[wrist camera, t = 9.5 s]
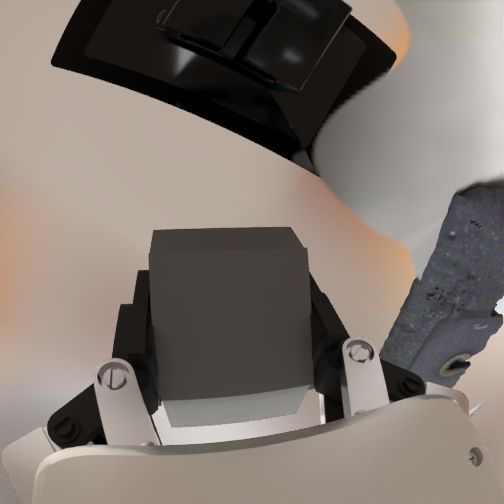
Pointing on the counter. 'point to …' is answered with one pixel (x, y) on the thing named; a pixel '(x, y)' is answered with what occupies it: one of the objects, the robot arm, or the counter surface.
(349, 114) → the counter surface
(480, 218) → the dark grey rough slab
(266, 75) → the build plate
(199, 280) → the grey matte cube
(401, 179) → the counter surface
